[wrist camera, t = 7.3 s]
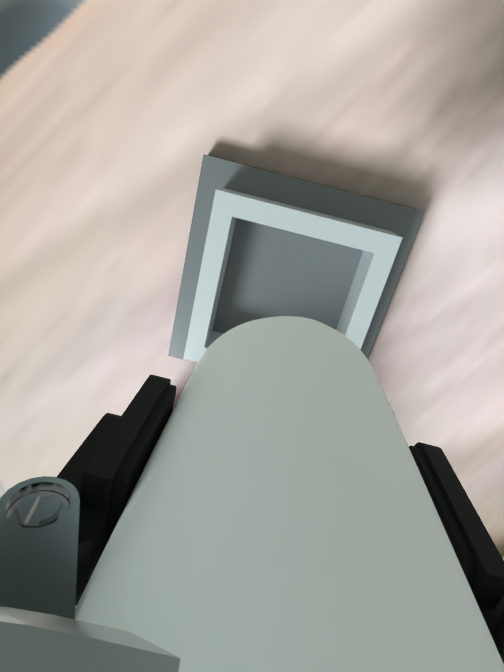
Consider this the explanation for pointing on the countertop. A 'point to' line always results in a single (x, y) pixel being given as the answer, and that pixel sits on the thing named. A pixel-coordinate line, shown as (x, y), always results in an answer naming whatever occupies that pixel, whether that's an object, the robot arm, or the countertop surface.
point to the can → (287, 523)
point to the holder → (286, 256)
